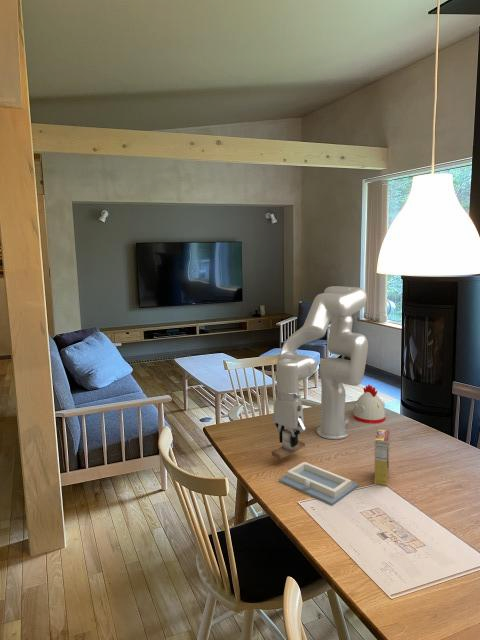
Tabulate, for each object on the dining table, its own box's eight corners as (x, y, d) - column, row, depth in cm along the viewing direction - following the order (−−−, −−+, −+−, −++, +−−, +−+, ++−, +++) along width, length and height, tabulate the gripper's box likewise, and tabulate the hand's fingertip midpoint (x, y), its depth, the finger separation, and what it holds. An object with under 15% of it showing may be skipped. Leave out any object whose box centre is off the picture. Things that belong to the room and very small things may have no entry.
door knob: (296, 443, 169) (295, 424, 167) (305, 446, 165) (305, 427, 164) (271, 455, 160) (271, 435, 159) (280, 459, 157) (280, 439, 156)
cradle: (306, 465, 160) (306, 456, 159) (358, 486, 145) (358, 476, 145) (279, 481, 149) (279, 471, 149) (332, 505, 135) (332, 495, 134)
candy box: (375, 471, 155) (377, 428, 153) (389, 473, 154) (390, 430, 151) (373, 484, 147) (374, 439, 144) (387, 486, 145) (389, 441, 143)
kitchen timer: (366, 425, 194) (368, 391, 192) (346, 415, 207) (347, 383, 204) (392, 420, 200) (393, 387, 198) (370, 410, 212) (372, 379, 210)
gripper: (314, 397, 156) (314, 447, 159) (276, 386, 167) (277, 433, 171) (300, 403, 150) (301, 454, 154) (262, 392, 162) (263, 440, 166)
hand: (288, 443), depth 162 cm, fingers closed on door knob, 4 cm apart
